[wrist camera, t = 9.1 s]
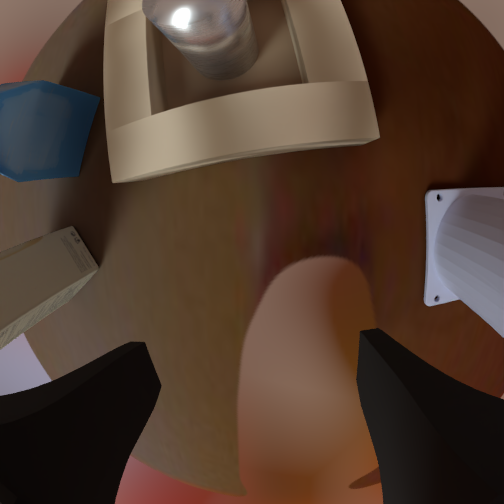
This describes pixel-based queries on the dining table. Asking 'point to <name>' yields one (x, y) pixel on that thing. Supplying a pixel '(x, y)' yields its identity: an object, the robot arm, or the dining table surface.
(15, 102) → the perfume bottle
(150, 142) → the socket block
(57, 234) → the skincare box
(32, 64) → the dining table surface
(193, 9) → the metal pin
